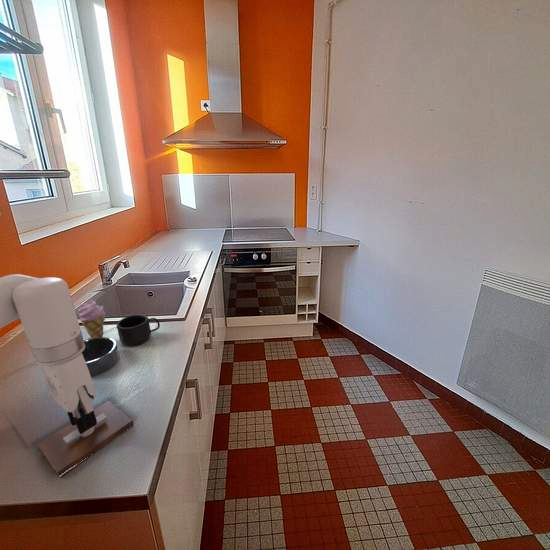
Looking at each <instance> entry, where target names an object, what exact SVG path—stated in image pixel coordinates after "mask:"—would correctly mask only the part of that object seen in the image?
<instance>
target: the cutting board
mask: <svg viewBox="0 0 550 550" xmlns="http://www.w3.org/2000/svg"><path fill="white" fill-rule="evenodd" d="M102 413H103V414H104V415H105V416H107V419H105V420H104V421H102V422H101V423H99V424H97V425H96V426H94V431H93V432H92V433H91V434H90V435H88V436H86V437H81V436H79V437H77V438H76V439H74V440H73V441H71V442H70V443H68V444H67V443H66V442H65V441H64V440H63V438H64V437H65V436H67V435H69V434H70V433H72V432H73V431H75V430H77V429H78V428H77V425H74V426H73V425H72V424H71V423H69V424H67V426H65V427H63V428H61V429H59V430H57V431H56V432H54V433H53V434H51V435H50V436H48V437H46V438H45V439H43V440H42V441H40V442H38V443H37V444H36V446H37V448H38V450H39V452H40V451H41V452H42V453H41V452H40V453H41V455H42V456H43V455H44V456H45V457H44V456H43V457H44V459H45V460H46V459H47V460H48V461H47V460H46V461H47V463H48V462H49V463H50V464H51V465H50V464H49V463H48V464H49V465H50V467H51V466H52V467H53V468H52V467H51V468H52V470H53V469H54V470H55V471H56V472H55V471H54V470H53V471H54V472H55V474H56V473H57V474H58V475H61V474H62V473H64V472H65V471H66V470H68V469H69V468H71V467H73V466H74V465H76V464H78V463H80V462H81V461H82V460H84V459H85V458H87V457H89V456H90V455H91V454H93V453H95V452H96V451H97V452H99V451H100V450H102V449H103V448H104V447H106V446H107V445H109V444H110V443H111V442H113V441H114V440H115V438H116V437H117V436H118V437H120V436H121V435H123V434H124V433H125V432H127V431H128V430H130V429H131V428H132V427H134V426H135V424H134V420H133V419H132V418H130V417H129V416H128V415H127V414H126V413H125V412H123V411H122V410H121V409H120V408H118V406H117V405H115V404H114V403H113V402H112V401H110V400H108V401H106V402H104V403H102V404H100V405H99V406H97V407H96V408H94V414H95V417H97V416H99V415H100V414H102ZM133 425H134V426H133ZM130 427H131V428H130ZM129 428H130V429H129ZM127 429H128V430H127ZM126 430H127V431H126ZM124 431H125V432H124ZM123 432H124V433H123ZM122 433H123V434H122ZM120 434H121V435H120ZM119 435H120V436H119ZM118 437H117V438H118ZM117 438H116V439H117ZM113 439H114V440H113ZM112 440H113V441H112ZM109 442H110V443H109ZM108 443H109V444H108ZM106 444H107V445H106ZM105 445H106V446H105ZM102 447H103V448H102ZM101 448H102V449H101ZM99 449H100V450H99ZM98 450H99V451H98ZM97 452H96V453H97ZM96 453H95V454H96ZM93 455H94V454H93ZM90 457H91V456H90ZM90 457H89V458H90ZM57 474H56V475H57ZM58 475H57V476H58Z"/></svg>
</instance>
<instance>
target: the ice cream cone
mask: <svg viewBox="0 0 550 550" xmlns="http://www.w3.org/2000/svg"><path fill="white" fill-rule="evenodd" d="M81 306H82V307H81V308H79V309H78V310H77V313H78V314H79V319H80V322H81V324H82V326H83V328H84V329H85V331H86V332H87V335H89V337H90V339H93V338H99V337H104V322H105V320H106V318H105V317H106V315H107V314H106V311H105V310H104V305H101V306H100V305H98V304H97V301H95V300H94V299H86V300H85V303H82V304H81Z"/></svg>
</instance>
